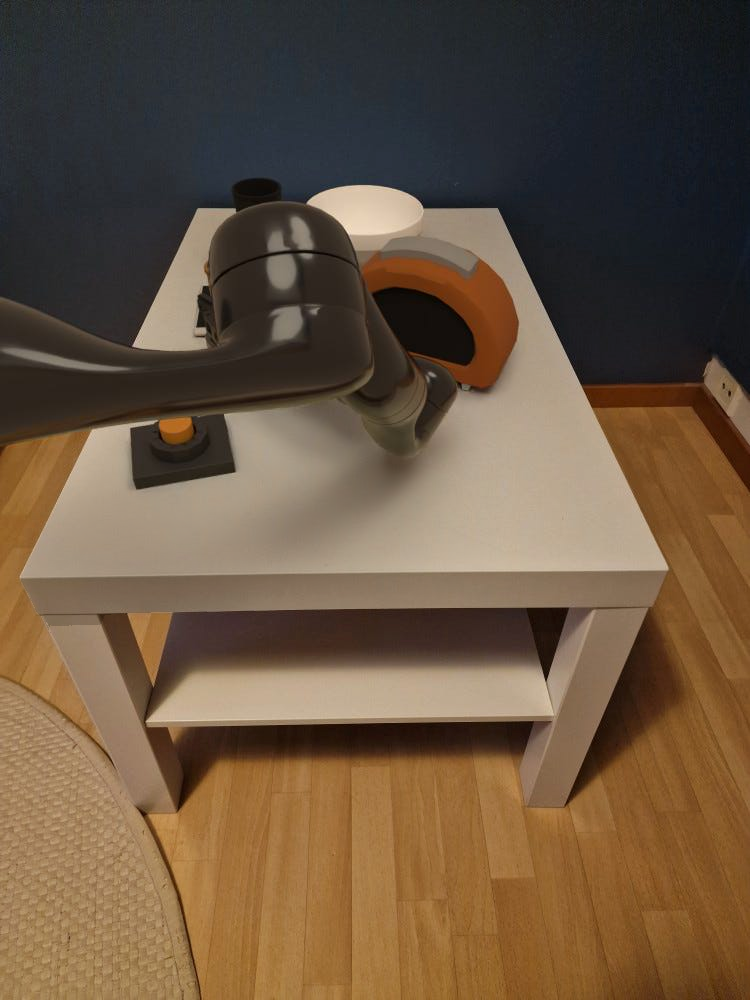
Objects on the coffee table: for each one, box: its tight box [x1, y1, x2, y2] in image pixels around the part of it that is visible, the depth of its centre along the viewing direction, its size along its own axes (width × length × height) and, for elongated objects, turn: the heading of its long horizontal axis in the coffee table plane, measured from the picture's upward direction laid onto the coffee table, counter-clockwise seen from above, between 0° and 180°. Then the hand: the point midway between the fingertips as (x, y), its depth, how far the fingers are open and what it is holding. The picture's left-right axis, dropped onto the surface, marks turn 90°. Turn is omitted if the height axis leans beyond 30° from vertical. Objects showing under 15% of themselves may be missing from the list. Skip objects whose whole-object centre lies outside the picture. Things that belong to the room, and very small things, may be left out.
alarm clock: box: [360, 235, 520, 391], centre depth 88 cm, size 23×9×17 cm, turn 66°
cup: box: [230, 177, 283, 213], centre depth 109 cm, size 8×8×12 cm
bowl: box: [305, 184, 425, 269], centre depth 111 cm, size 19×19×9 cm
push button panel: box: [129, 414, 236, 490], centre depth 79 cm, size 11×9×4 cm
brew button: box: [159, 417, 194, 444], centre depth 77 cm, size 4×4×2 cm
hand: (218, 293), depth 88 cm, fingers closed on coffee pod, 4 cm apart
